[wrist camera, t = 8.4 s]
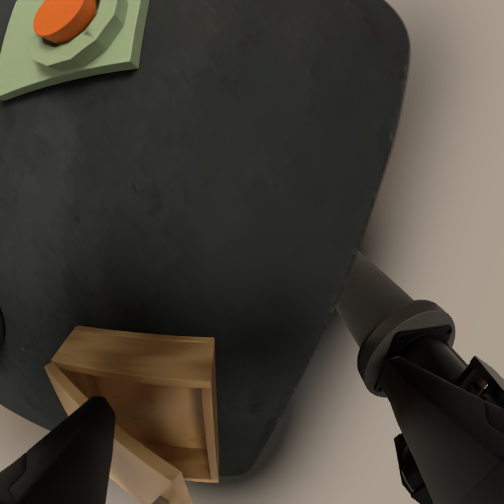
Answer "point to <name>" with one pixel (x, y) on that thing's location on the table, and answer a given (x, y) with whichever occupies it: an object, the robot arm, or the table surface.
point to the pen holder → (1, 328)
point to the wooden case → (152, 391)
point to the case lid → (129, 455)
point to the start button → (63, 19)
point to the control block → (70, 47)
